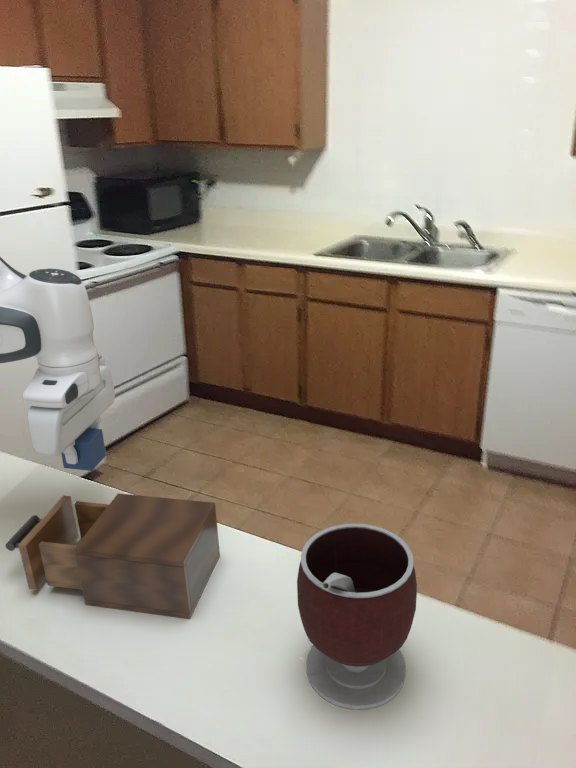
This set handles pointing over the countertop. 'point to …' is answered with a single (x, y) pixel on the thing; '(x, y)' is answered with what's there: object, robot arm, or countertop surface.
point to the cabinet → (149, 555)
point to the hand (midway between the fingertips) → (83, 452)
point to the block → (88, 450)
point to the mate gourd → (356, 613)
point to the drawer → (54, 543)
